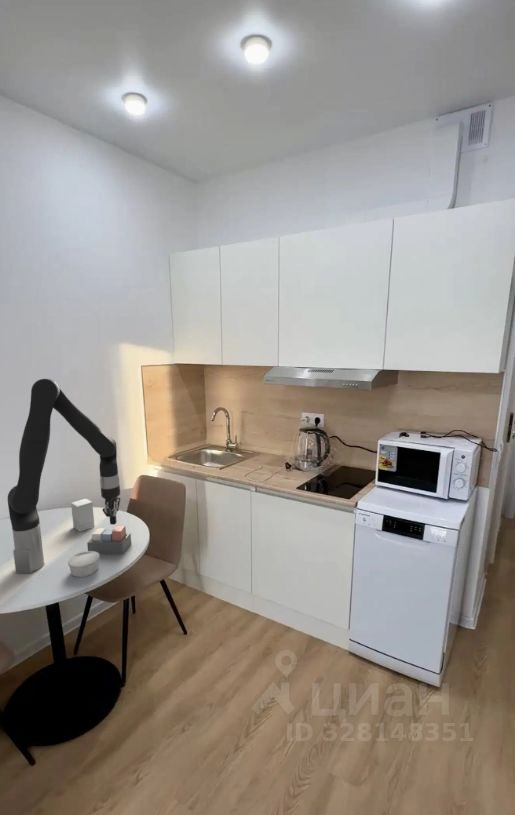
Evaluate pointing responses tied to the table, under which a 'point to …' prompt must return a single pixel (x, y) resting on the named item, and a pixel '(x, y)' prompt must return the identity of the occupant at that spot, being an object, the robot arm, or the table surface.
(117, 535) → the pink block
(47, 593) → the table surface
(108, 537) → the slate blue key
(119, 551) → the dark grey tray
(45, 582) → the table surface
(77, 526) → the supplement box
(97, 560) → the ramekin
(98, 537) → the ivory key
